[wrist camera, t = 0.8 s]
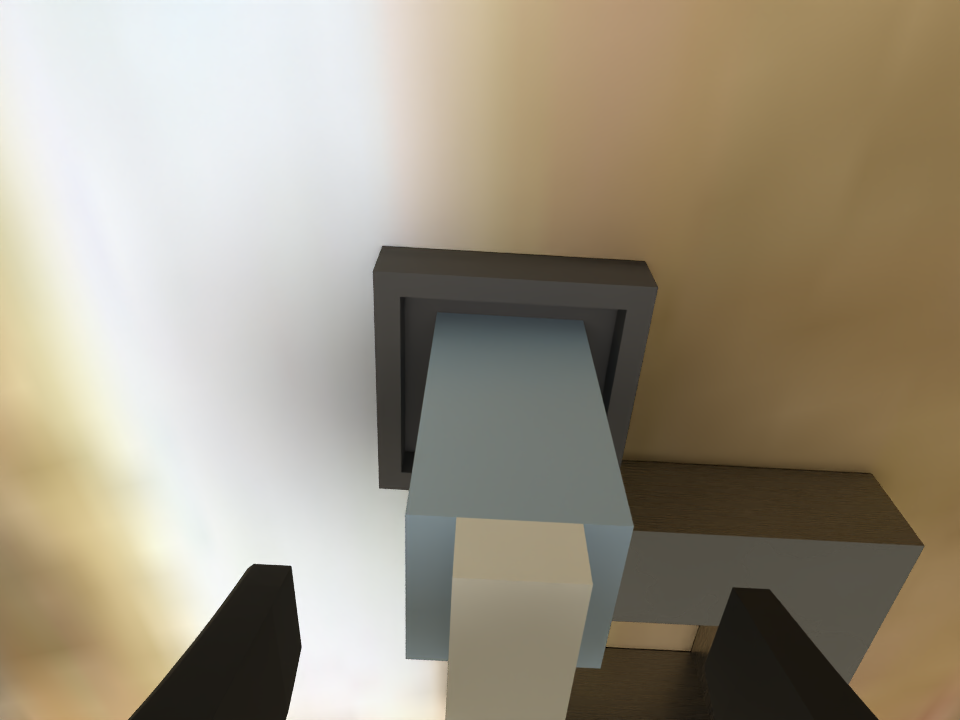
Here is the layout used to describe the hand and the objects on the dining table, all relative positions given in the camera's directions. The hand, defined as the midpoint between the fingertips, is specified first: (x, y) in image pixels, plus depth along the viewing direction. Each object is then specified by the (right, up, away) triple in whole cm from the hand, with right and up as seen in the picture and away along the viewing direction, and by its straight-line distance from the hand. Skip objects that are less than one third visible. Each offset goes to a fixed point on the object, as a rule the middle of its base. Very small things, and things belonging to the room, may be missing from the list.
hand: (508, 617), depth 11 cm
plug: (0, +4, +6) cm, 7 cm away
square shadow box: (0, +4, +7) cm, 8 cm away
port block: (+5, -4, +12) cm, 13 cm away
